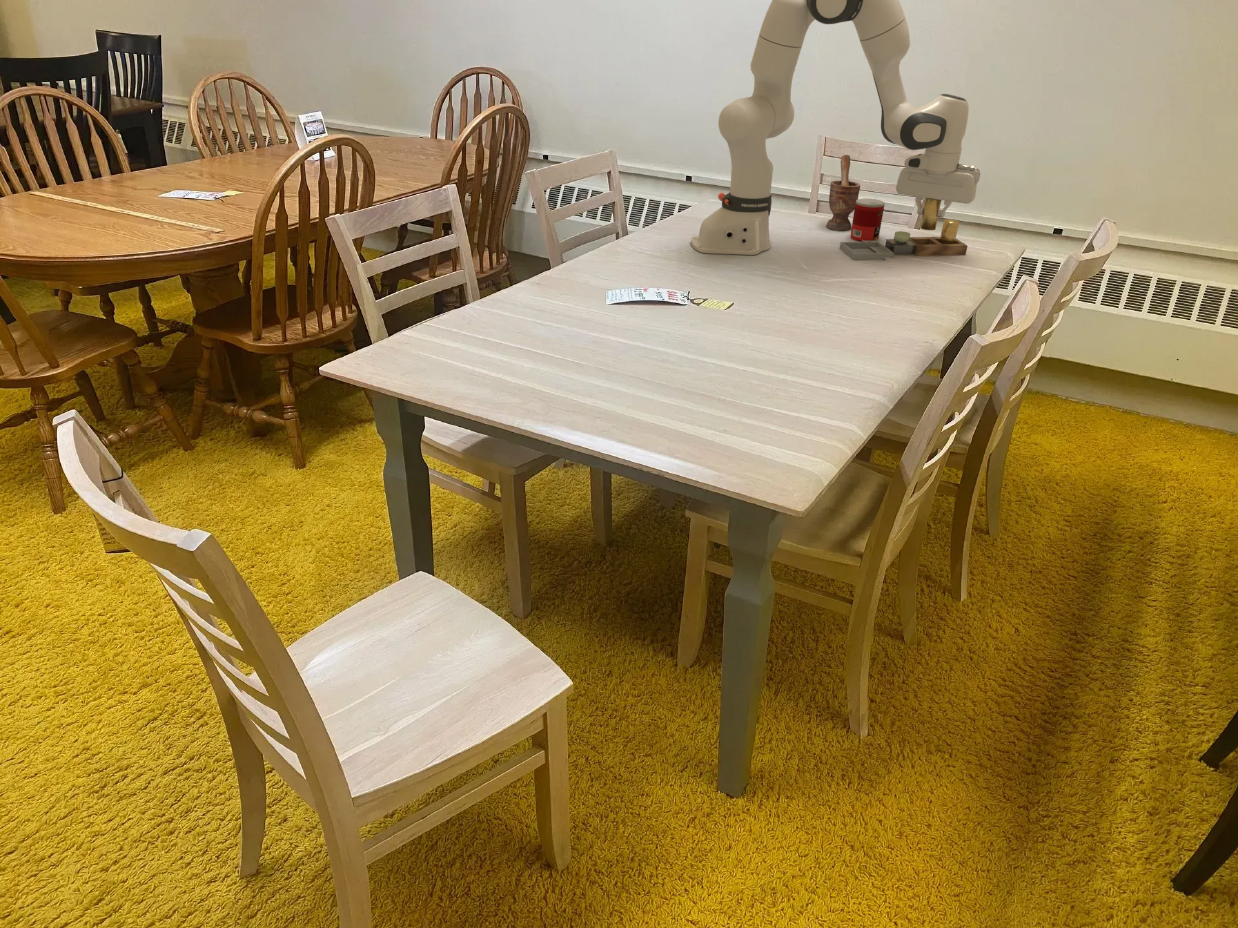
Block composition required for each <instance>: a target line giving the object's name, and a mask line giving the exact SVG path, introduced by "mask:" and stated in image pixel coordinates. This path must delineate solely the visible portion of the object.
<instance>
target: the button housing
mask: <svg viewBox="0 0 1238 928" xmlns="http://www.w3.org/2000/svg"><path fill="white" fill-rule="evenodd" d="M884 246H885V247H887V248H888V249H889V250H891V251H892V252H893V253H894V256H897V255H899V256H901V255H902V256H903V255H905V256H906V255H908V256H909V255H914V253H915V248H916V245H915V244H914V243H912V242H911V241H908V242H904V243H902V244H898V241H895V240H894V238H891V239H890V238H887V239H885V245H884Z"/></svg>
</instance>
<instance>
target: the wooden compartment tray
mask: <svg viewBox="0 0 1238 928" xmlns="http://www.w3.org/2000/svg"><path fill="white" fill-rule="evenodd" d="M940 237H941V236H912V237H911V236H910V238H909V241H911V242H912V243H914V244H915V245H916V248H915V253H914V254H913V255H914V256H916V257H931V256H932V257H933V256H935V257H936V256H966V255H967V254H966V253H967V251H968V245H967V244H965V243H964V242H962V241H960V240H959V239H957V238H956V240H955V244H941V243H940V242H939V241H940Z"/></svg>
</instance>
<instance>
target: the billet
mask: <svg viewBox="0 0 1238 928" xmlns="http://www.w3.org/2000/svg"><path fill="white" fill-rule="evenodd" d="M924 201H925V202H924V206H923V207H924V211H923V215H922V216H921V222H920V227H919V228H920V229H921V230H924V231H936V229H937V225H938V219H939V217H937V215H938V210H940V209H941V206H942V200H937V199H930V198H925V200H924Z"/></svg>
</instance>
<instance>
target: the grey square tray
mask: <svg viewBox="0 0 1238 928" xmlns="http://www.w3.org/2000/svg"><path fill="white" fill-rule="evenodd" d="M839 244H840V245H839V249H840V250H841V251H842V252H844V254H845V255H847V256H848V257H849V258H850V259H851V260H852V261H883V260H884V261H885V260H886V259H893V258H894V256H895V255H894V253H893V252H892V251H891V250H889V249H888V248H887V247H885V245H884V244H883V243H882V242H881V241H879V240H878V241H877V240H872V241H863V242H860V241H840V243H839ZM873 247H876V248H878V250H880V251H882V252H877V251H875V250H874V248H873Z"/></svg>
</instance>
